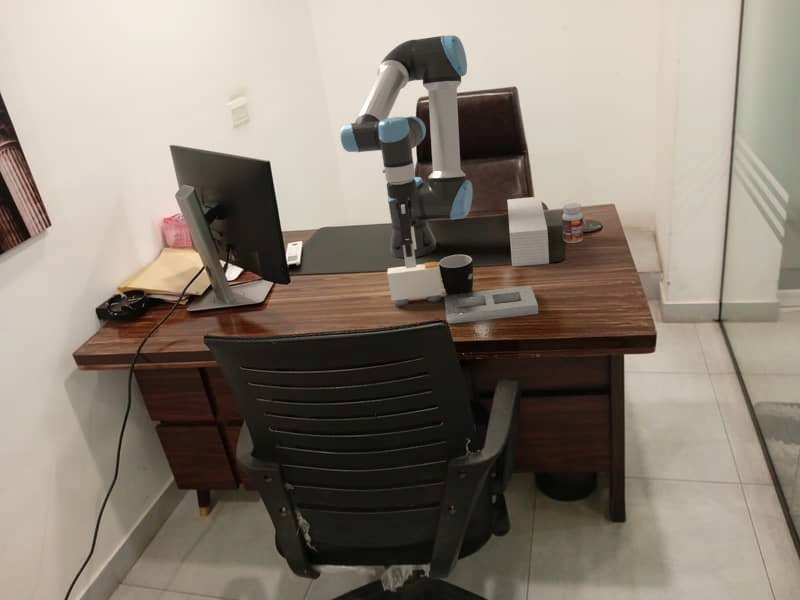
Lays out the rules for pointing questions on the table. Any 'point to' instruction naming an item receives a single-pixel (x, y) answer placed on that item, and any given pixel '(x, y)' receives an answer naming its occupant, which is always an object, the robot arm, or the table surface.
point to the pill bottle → (572, 223)
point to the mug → (457, 274)
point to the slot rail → (490, 304)
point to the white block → (415, 283)
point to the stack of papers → (528, 232)
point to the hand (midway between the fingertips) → (411, 258)
